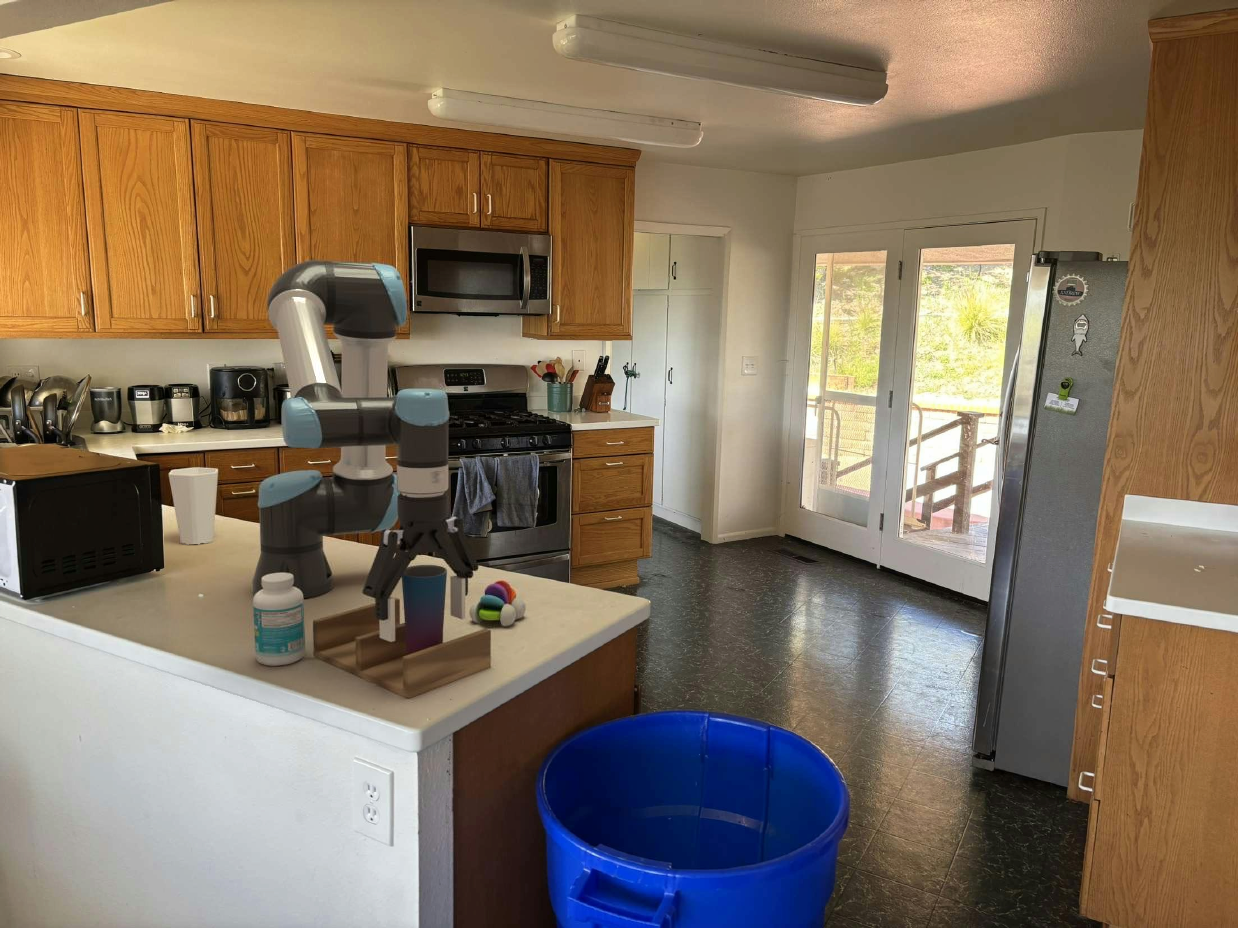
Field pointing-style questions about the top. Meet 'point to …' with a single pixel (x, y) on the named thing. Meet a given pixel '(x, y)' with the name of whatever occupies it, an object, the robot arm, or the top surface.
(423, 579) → the cup
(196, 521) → the cup
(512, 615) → the rainbow disc stack
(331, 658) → the rack
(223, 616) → the top surface
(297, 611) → the pill bottle
